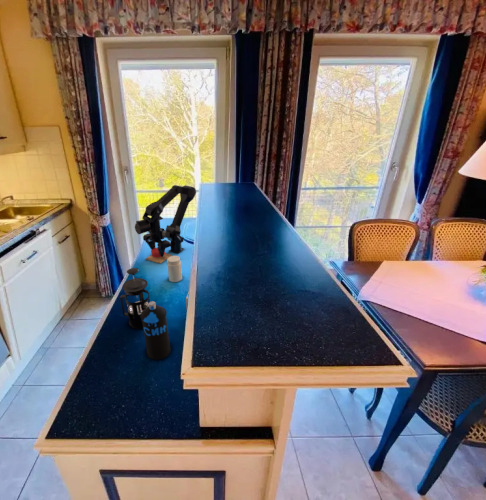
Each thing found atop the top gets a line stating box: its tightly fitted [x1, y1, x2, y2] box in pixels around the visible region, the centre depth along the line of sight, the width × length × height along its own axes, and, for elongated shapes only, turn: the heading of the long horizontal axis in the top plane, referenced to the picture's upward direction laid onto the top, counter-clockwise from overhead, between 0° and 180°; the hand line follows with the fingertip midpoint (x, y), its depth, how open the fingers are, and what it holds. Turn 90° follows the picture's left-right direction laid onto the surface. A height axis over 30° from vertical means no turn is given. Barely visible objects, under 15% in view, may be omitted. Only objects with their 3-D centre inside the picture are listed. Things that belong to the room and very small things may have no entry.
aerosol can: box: [139, 300, 172, 361], centre depth 91 cm, size 8×8×20 cm
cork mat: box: [145, 252, 172, 264], centre depth 157 cm, size 10×10×1 cm
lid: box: [150, 247, 166, 257], centre depth 155 cm, size 8×8×2 cm
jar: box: [166, 255, 183, 283], centre depth 134 cm, size 7×7×11 cm
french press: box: [119, 267, 151, 330], centre depth 104 cm, size 12×9×23 cm
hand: (158, 254), depth 156 cm, fingers closed on lid, 7 cm apart
